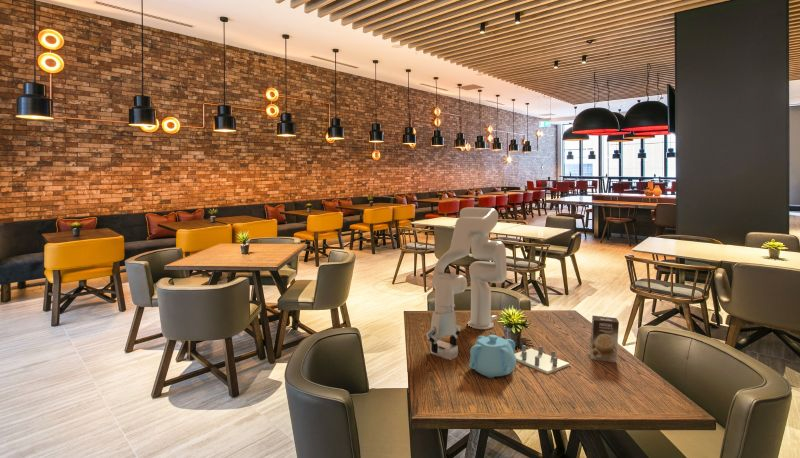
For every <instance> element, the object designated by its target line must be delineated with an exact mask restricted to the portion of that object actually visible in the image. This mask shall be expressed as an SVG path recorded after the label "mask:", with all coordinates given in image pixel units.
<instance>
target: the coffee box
mask: <svg viewBox="0 0 800 458" xmlns="http://www.w3.org/2000/svg"><path fill="white" fill-rule="evenodd" d="M619 324H620V323H619V320H618V319H617V318H616V317H608V316H600V315H599V316H598V315H592V316H591V331H590V348H589V349H590V350H589V356H590V358H591V359H590V360H595V361H604V362H610V363H612V362H613V363H617V360H618V359H617V355H618V344H619V343H618V341H619V340H618V339H619V329H620V328H619V327H620V325H619Z"/></svg>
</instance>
